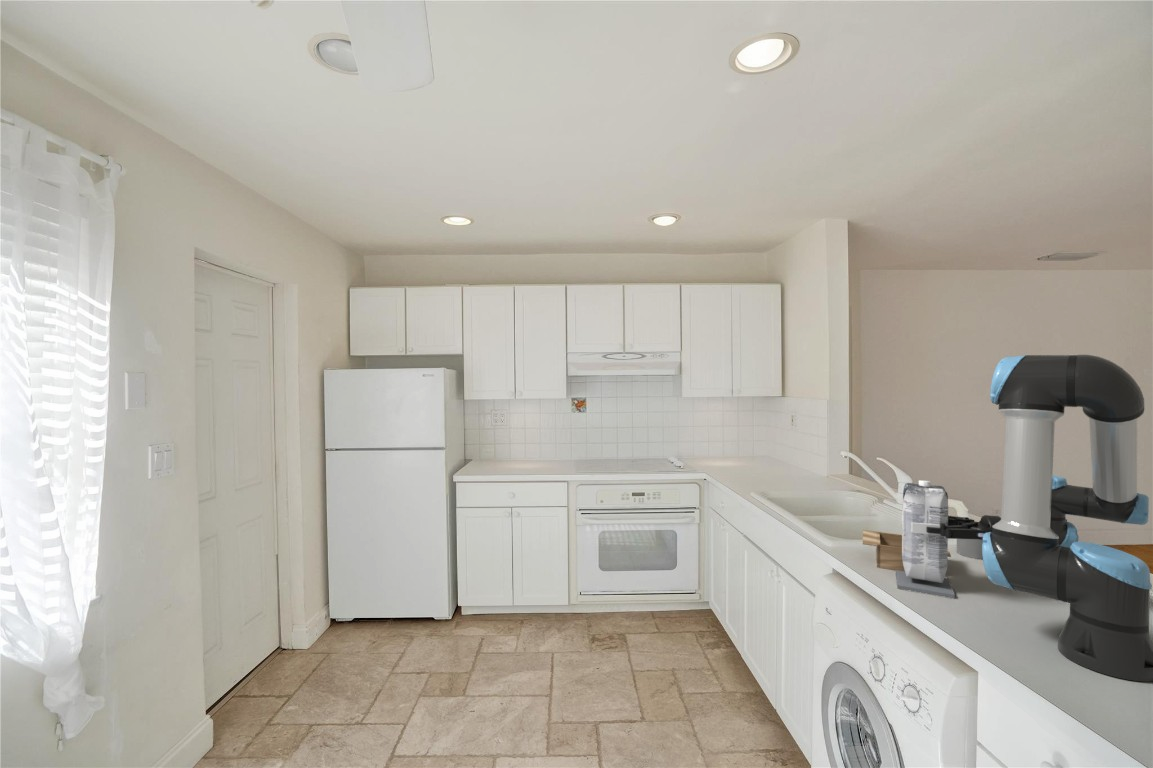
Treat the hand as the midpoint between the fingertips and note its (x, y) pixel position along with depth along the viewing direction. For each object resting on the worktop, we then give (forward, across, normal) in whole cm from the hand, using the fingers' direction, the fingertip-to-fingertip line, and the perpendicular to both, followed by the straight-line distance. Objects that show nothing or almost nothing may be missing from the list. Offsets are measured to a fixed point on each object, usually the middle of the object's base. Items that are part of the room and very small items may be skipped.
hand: (906, 522), depth 150 cm
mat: (-4, 0, -18) cm, 18 cm away
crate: (-3, +17, -18) cm, 25 cm away
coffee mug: (-30, +35, -18) cm, 49 cm away
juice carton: (-4, 0, -15) cm, 16 cm away
